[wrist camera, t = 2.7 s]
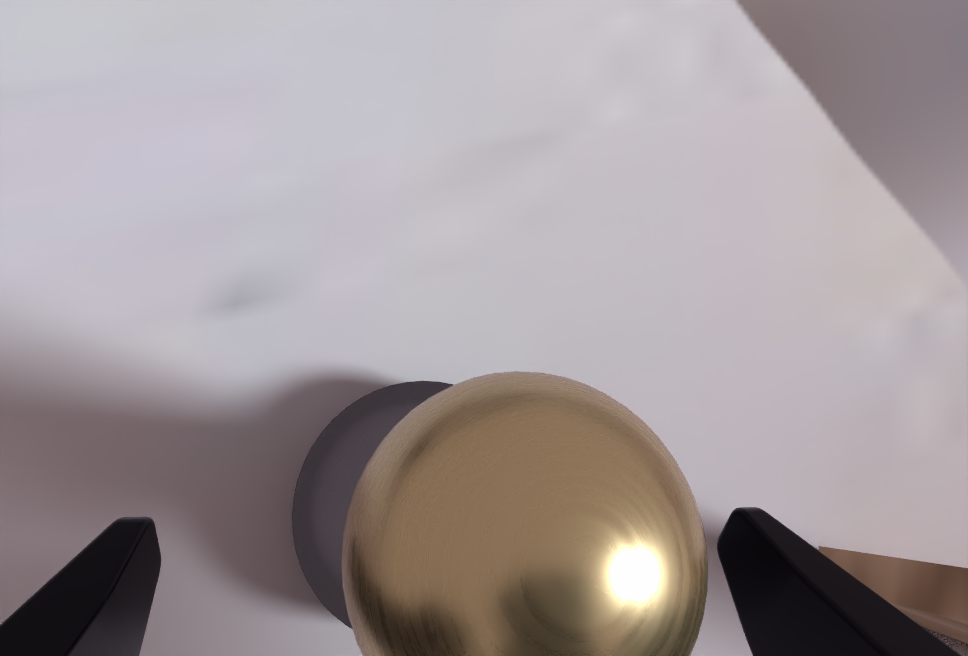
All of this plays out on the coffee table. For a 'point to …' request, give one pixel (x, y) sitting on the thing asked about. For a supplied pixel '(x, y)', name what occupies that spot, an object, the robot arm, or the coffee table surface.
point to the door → (913, 588)
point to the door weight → (501, 523)
